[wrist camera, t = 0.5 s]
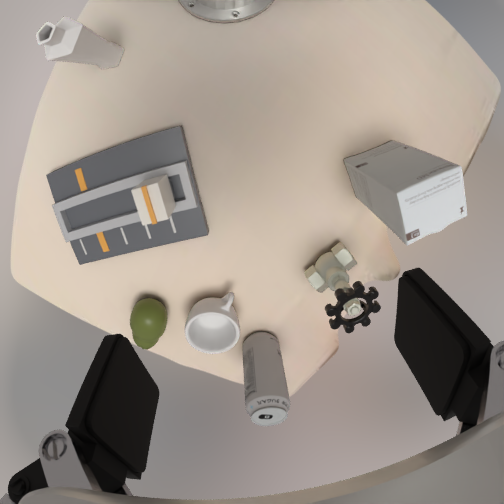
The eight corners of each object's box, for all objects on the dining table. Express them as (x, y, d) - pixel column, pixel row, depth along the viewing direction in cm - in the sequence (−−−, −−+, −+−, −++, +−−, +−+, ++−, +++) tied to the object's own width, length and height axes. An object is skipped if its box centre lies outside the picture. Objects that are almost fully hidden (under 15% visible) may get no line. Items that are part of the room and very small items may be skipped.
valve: (294, 261, 41) (314, 313, 31) (330, 230, 40) (363, 274, 29) (322, 288, 44) (346, 341, 33) (356, 259, 42) (390, 307, 31)
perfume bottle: (105, 80, 29) (37, 69, 15) (89, 58, 27) (20, 40, 13) (133, 56, 28) (75, 28, 14) (116, 34, 26) (56, 1, 12)
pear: (166, 325, 38) (156, 360, 44) (173, 298, 42) (162, 335, 48) (128, 312, 37) (124, 350, 42) (138, 286, 41) (132, 326, 47)
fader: (146, 178, 33) (129, 190, 28) (169, 171, 33) (156, 183, 28) (155, 209, 35) (141, 227, 29) (178, 203, 35) (167, 220, 29)
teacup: (224, 336, 47) (224, 360, 42) (181, 318, 45) (176, 341, 40) (255, 291, 43) (258, 314, 38) (208, 269, 41) (205, 291, 36)
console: (51, 172, 33) (41, 177, 31) (182, 125, 32) (177, 126, 30) (83, 259, 39) (76, 268, 37) (208, 230, 38) (207, 238, 36)
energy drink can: (272, 356, 49) (284, 428, 36) (239, 352, 48) (242, 426, 35) (282, 331, 47) (298, 406, 33) (246, 326, 46) (252, 404, 33)
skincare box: (392, 139, 34) (464, 159, 21) (403, 179, 37) (471, 216, 23) (339, 160, 35) (396, 190, 22) (353, 201, 38) (409, 249, 24)
